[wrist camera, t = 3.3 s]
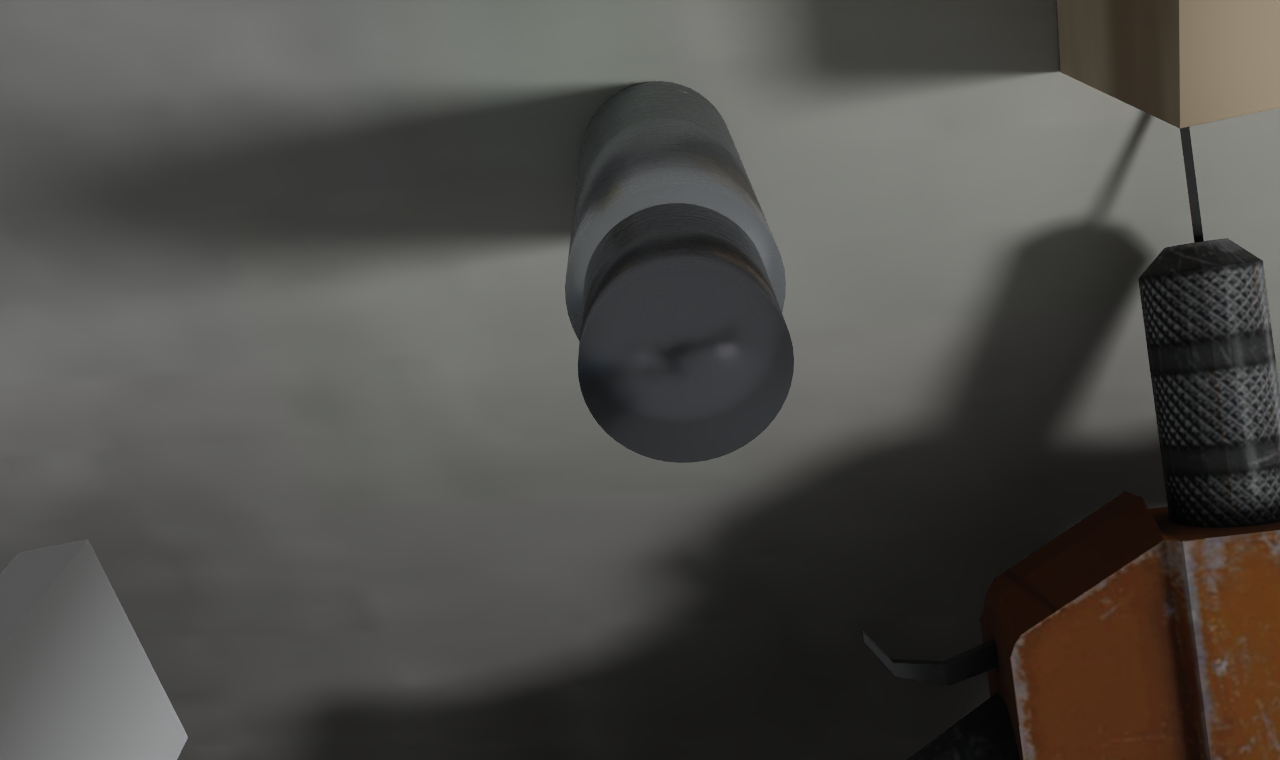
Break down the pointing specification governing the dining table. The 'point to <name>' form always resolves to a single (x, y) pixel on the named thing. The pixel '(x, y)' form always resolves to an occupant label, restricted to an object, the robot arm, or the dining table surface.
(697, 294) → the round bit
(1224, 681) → the tool
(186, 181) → the dining table surface
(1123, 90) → the bore block
